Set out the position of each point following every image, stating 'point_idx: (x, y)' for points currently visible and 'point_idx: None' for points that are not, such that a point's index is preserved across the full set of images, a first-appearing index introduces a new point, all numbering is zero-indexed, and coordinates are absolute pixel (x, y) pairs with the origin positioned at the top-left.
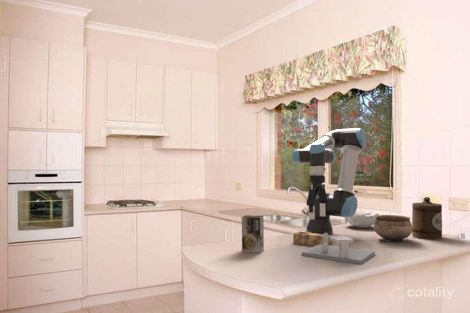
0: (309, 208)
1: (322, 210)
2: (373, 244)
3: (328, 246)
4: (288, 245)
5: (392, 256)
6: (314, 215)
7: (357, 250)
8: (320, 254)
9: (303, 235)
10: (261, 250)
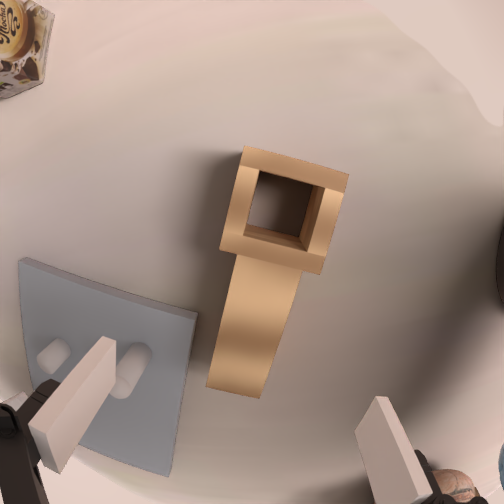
0: (25, 405)
1: (379, 454)
2: (336, 469)
3: (158, 361)
4: (174, 140)
5: (175, 492)
6: (99, 403)
7: (148, 444)
8: (24, 331)
9: (225, 227)
10: (10, 93)
